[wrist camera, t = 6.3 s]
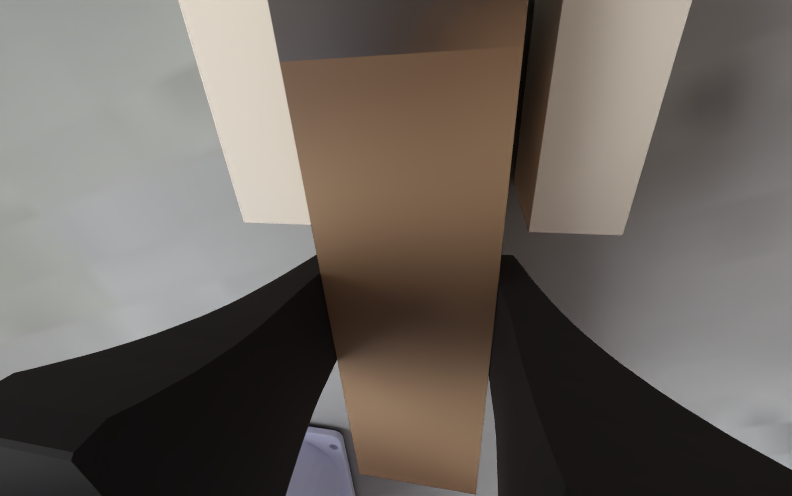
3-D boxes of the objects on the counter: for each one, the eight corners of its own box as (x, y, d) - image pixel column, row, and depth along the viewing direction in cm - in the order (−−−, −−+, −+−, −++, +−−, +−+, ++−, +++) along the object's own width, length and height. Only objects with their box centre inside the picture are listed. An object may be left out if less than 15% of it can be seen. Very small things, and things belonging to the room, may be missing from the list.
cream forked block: (581, 184, 11) (695, 326, 5) (298, 181, 13) (161, 284, 7) (655, -167, 7) (1294, -921, 2) (242, -100, 9) (-133, -341, 3)
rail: (474, 373, 16) (475, 494, 11) (388, 363, 16) (359, 473, 12) (504, -7, 9) (535, -59, 5) (355, 7, 10) (262, -26, 5)
